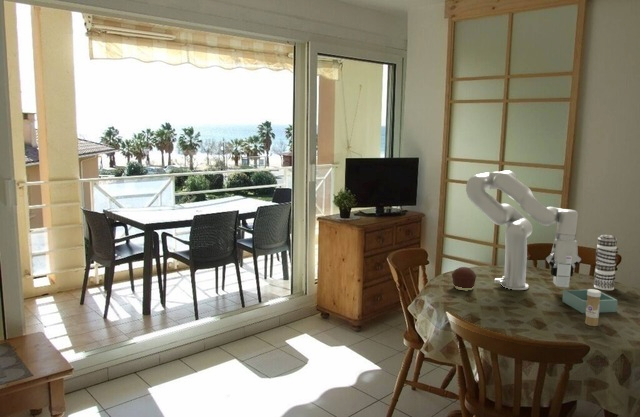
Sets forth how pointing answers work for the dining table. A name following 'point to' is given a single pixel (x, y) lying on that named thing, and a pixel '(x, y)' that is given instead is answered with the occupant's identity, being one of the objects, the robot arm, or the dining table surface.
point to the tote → (579, 301)
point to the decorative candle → (605, 262)
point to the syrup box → (563, 273)
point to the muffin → (464, 277)
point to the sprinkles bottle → (592, 307)
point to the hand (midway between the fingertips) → (561, 275)
